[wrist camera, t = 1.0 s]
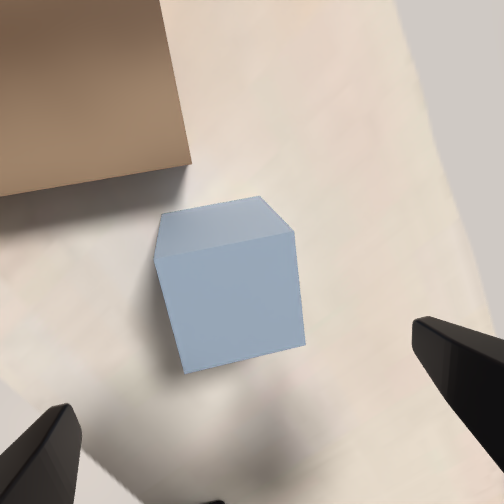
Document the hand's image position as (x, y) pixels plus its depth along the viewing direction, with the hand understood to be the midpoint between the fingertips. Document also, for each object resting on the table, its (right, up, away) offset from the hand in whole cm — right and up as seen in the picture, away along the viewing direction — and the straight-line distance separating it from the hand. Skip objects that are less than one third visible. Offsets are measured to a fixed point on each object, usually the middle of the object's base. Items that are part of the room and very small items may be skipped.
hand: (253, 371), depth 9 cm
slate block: (-2, +3, +8) cm, 9 cm away
